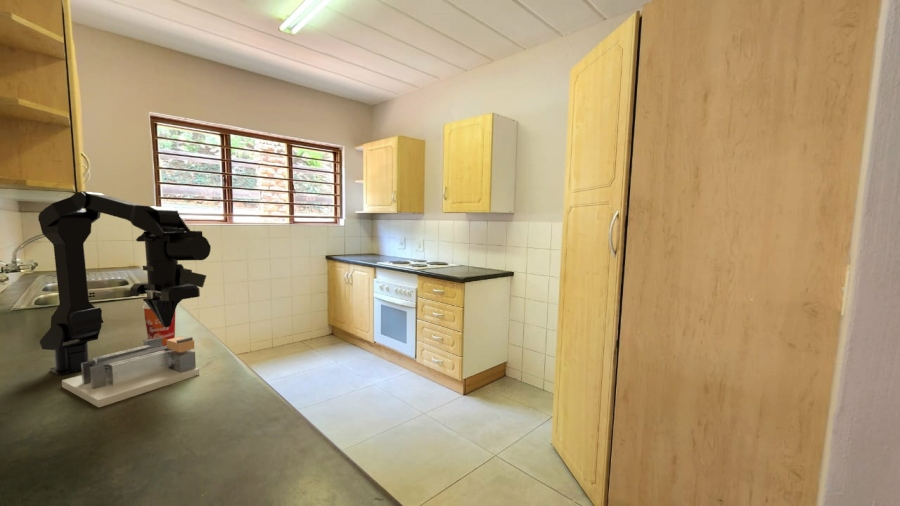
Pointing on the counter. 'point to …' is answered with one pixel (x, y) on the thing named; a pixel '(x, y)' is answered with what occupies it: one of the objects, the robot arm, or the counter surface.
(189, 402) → the counter surface
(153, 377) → the board
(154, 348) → the grey lever
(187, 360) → the grey piece
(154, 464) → the counter surface
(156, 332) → the paper cup
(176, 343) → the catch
